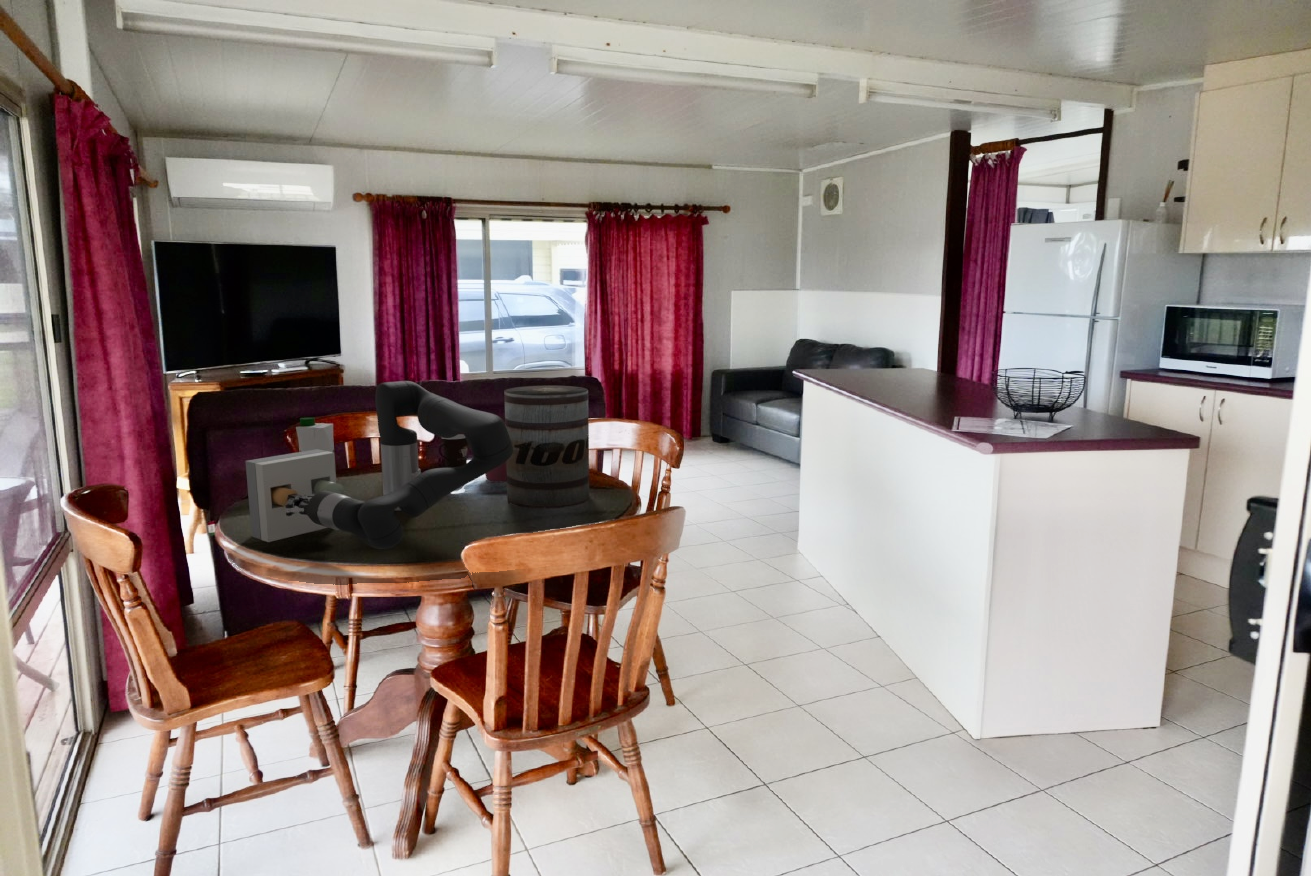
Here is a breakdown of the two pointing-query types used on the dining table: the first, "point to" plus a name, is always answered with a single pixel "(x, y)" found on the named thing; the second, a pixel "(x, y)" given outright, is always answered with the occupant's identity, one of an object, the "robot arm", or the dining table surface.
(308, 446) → the milk carton
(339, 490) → the button sage
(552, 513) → the dining table surface
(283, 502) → the button orange
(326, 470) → the control box
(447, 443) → the coffee mug
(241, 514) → the dining table surface
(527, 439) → the barrel
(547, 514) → the dining table surface
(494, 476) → the plant pot
